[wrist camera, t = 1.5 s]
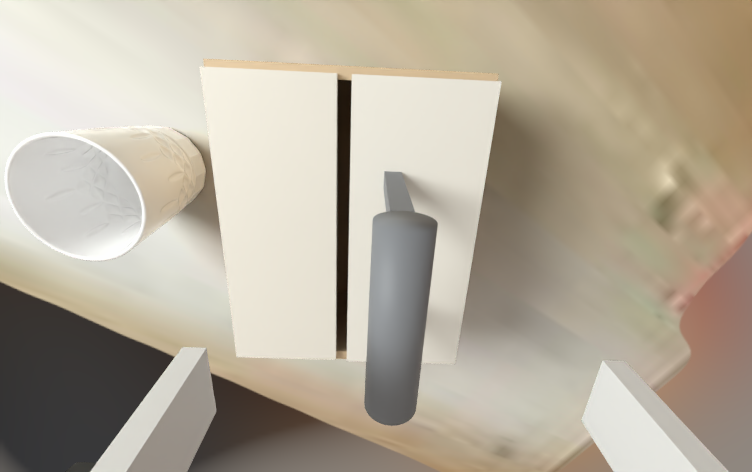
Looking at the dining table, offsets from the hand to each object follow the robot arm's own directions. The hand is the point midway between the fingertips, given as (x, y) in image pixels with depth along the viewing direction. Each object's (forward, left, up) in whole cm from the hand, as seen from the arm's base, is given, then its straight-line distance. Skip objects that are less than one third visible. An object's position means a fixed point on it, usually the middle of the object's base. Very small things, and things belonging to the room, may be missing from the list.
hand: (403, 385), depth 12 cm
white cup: (-2, -19, -21) cm, 28 cm away
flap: (0, +1, -12) cm, 12 cm away
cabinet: (0, -3, -21) cm, 21 cm away
